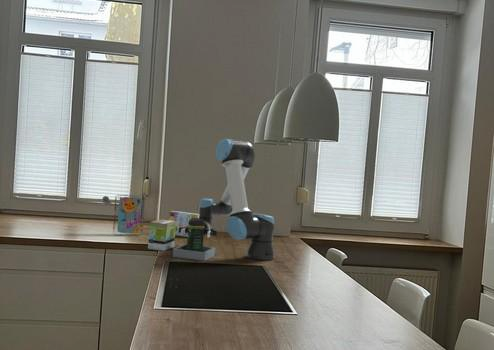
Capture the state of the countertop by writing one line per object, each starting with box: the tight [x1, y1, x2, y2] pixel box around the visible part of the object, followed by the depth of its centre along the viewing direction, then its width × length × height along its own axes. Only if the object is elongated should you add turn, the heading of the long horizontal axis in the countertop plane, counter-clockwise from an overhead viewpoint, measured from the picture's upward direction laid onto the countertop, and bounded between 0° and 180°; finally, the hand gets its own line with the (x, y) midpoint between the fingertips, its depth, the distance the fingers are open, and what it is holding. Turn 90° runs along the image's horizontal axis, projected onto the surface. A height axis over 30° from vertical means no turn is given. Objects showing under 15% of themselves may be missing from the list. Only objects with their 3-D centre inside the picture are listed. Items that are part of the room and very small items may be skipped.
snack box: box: [168, 210, 199, 238], centre depth 329 cm, size 21×6×15 cm, turn 65°
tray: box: [172, 243, 217, 262], centre depth 266 cm, size 17×17×4 cm
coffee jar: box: [186, 218, 205, 252], centre depth 265 cm, size 10×8×19 cm
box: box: [102, 194, 146, 237], centre depth 312 cm, size 25×6×24 cm, turn 113°
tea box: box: [147, 219, 176, 252], centre depth 281 cm, size 15×10×15 cm
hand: (194, 233), depth 262 cm, fingers open, 13 cm apart
